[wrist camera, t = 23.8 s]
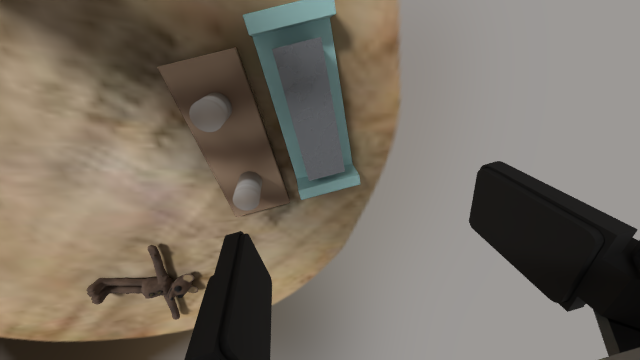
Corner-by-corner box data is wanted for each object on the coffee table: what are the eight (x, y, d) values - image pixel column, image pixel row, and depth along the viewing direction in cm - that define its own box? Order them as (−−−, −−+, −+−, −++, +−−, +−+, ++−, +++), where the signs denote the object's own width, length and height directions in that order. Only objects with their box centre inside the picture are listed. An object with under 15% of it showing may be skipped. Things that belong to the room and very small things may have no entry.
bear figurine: (60, 257, 30) (176, 260, 31) (87, 234, 34) (190, 238, 35) (108, 333, 39) (197, 332, 40) (125, 308, 42) (207, 308, 44)
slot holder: (248, 20, 23) (242, 14, 19) (325, 1, 23) (333, -8, 20) (299, 184, 33) (301, 199, 30) (352, 170, 33) (360, 184, 30)
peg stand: (161, 66, 24) (132, 69, 19) (236, 47, 24) (225, 46, 19) (237, 212, 34) (230, 239, 29) (289, 199, 34) (291, 222, 29)
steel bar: (273, 49, 24) (271, 49, 20) (315, 38, 24) (321, 36, 20) (305, 166, 31) (308, 181, 27) (337, 157, 31) (345, 171, 27)
